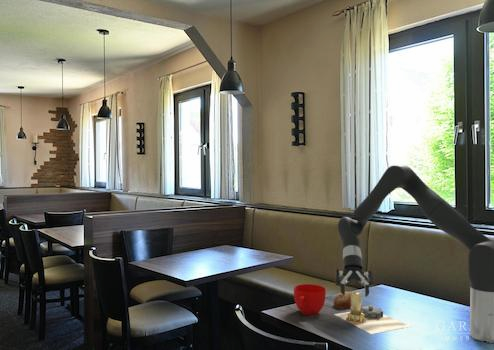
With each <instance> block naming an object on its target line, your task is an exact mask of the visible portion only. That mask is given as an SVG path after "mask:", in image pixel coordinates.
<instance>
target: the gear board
mask: <svg viewBox="0 0 494 350" xmlns="http://www.w3.org/2000/svg"><path fill="white" fill-rule="evenodd" d="M350 312H351V311H347V312H339V313H333V314H334V316H336V317H338V318H340V319H342V320H344V321H346V322H347V323H349V324H351V325H353V326H356V327H357V328H359V329H360V330H362V331H365V333H368V334H370V335H374V334H381V333H385V332H390V331H396V330H402V329H405V328H410V327H412V326H411V325H408V324H406V323H404V322H401V321H399V320H396V319H395V318H393V317H391V316H388V315H386V314H384V310H382V308H380V307H376V306H373V305H372V304H371V305H370V304H369V305H368V306H365V305H362V313H363V315H364V321H362V322H354V321H349V319H348V313H350Z"/></svg>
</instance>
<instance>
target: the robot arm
mask: <svg viewBox="0 0 494 350" xmlns="http://www.w3.org/2000/svg"><path fill="white" fill-rule="evenodd" d="M397 189H403V190H404V191H405V192H406V193H407V194H408V195H409V196H411V197H412V198H413V199H414V201H416V204H417V205H418V207H419V209H420V210H421V212H422V214H423V215H424V216H425V218H427V219H428V221H430V222H431V223H432V224H433V225H434V226H435V227H436V228H438V229H440V231H442V232H444V233H445V234H447V235H449V236H451V237H452V238H454V239H456V240H457V241H459V242H460V243H461V244H462V245H463V246H464V247H466V249H468V250H469V252H468V259H467V260H468V263H467V264H468V265H467V266H468V279H469V282H470V284H469V285H470V287H469V290H470V291H469V293H470V294H469V296H470V297H469V298H470V299H469V301H470V302H469V304H470V305H469V336H470V337H471V338H472V339H474V340H477V341H480V342H484V341H486V342H485V343H488V342H489V344H493V343H494V241H493V240H492V239H490V238H489V237H487V236H486V235H485V234H483V233H482V232H481V231H479V230H478V229H477V228H476V227H474V226H473V224H472V223H470V222H469V221H468V220H467V219H466V218H465V217H464V216H463V215H462V214H461V213H460V212H458V211H457V210H456V208H454V207H453V206H452V205H451V204H450V203H449V202H447V201H446V200H445V199H444V198H443V197H442V196H440V195H439V194H438V193H437V192H436V191H435V190H433V189H432V188H431V187H429V186H428V185H427V184H426V182H424V181H423V180H422V179H421V178H420V177H419V175H417V174H416V172H415V171H414V170H413V169H412V168H411V167H410V166H408V165H405V164H393V165H390V166H388V167H387V169H386V170H385V171H384V172H383V174H382V175H381V177H380V179H379V180H378V181H377V183H376V185H375V186H374V188H373V189H372V190H371V191H370V193H369V194H368V195H367V196H366V197H365V198H364V199H363V200H362V202H360V204H359V205H358V206H357V207H356V208H354V211H353V216H354V218H355V219H352V218H351V217H348V216H342V217H341V218H340V219H339V221H338V224H337V230H338V231H337V232H338V233H339V236H340V238H341V242H342V263H343V269H342V270H340V269H338V268H337V269H336V270H335V285H336V286H339V287H340V293H341V294H343V295H345V291H346V289H345V285H346V284H347V283H348V282H349V283H360V285H362V286H364V297H368V296H369V294H370V288H372V287H373V286H374V279H373V272H372V270H368V271H364V266H363V256H362V249H361V242H360V238H359V236H360V235H361V234H362V233H363V230H364V228H365V227H366V225H367V223H368V222H369V220H370V219H371V218H372V217H373V216H374V215H375V214H376V213H377V212H378V210H379V209H380V207H381V206H382V204H383V202H384V200H385V199H387V196H389V194H391V193H392V192H394V191H395V190H397ZM342 275H343V278H342V280H340V277H342ZM365 276H366V278H367V279H368V280H367V279H366V278H365Z"/></svg>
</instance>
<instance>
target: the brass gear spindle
mask: <svg viewBox="0 0 494 350" xmlns="http://www.w3.org/2000/svg"><path fill="white" fill-rule="evenodd" d="M350 294H351V309H350V311H349V312H350V313H348V319H349V321H354V322H362V321H364V315H363V313H362V306H363V304H362V301H363V300H362V297H363V295H362V294H363V293H362V292H360V291H351V292H350Z"/></svg>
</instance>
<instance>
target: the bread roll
mask: <svg viewBox="0 0 494 350" xmlns="http://www.w3.org/2000/svg"><path fill="white" fill-rule="evenodd" d="M333 305H334V306H335V308H337V309H339V308H340V310H345V309H348V311H349V309H350V310H351V292H348V291H346V290H345V295H343V294H341V292H339V293H338V294H336V295H335V297H334V299H333Z"/></svg>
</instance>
